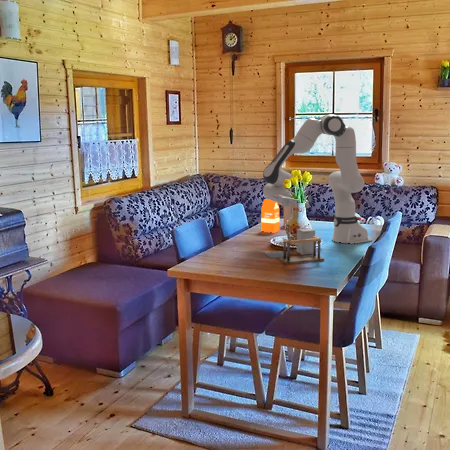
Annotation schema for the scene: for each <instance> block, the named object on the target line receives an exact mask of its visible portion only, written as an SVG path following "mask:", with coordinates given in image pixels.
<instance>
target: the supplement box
mask: <svg viewBox="0 0 450 450" xmlns="http://www.w3.org/2000/svg"><path fill="white" fill-rule="evenodd" d="M313 236H316V230H315V229H313V228H311V227H305V228H304V227H300V228H296V240H302V239H313ZM313 249H314V242H302V243H296V253H298V254H300V256H306V255H313Z"/></svg>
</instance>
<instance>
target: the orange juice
mask: <svg viewBox="0 0 450 450" xmlns="http://www.w3.org/2000/svg"><path fill="white" fill-rule="evenodd" d="M262 201H263V202H262V206H261V209H260V211H261V215H260V216H261V218H260V219H261V222H260V223H261V232H262V231H264V232H263V233H270V232H272V234H275V233H277V232H279V231H280V207H279V204H278V203H277V202H274V201H271V200H269V199H268V198H264V199H263V200H262Z"/></svg>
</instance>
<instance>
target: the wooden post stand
mask: <svg viewBox="0 0 450 450" xmlns="http://www.w3.org/2000/svg"><path fill="white" fill-rule="evenodd" d="M282 240H283V252H284V259H286V254H287V261H290V257H291V244H297V243H302V242H314V249H313V254H312V255H313V256H316V255H318V258H320V256H321V241H322V238H320V237H318V236H316V235H315V236H313V239H302V240H297V239H294V240H293V239H291V240H290V239H287V238H286V237H285V238H283V239H282Z"/></svg>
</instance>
